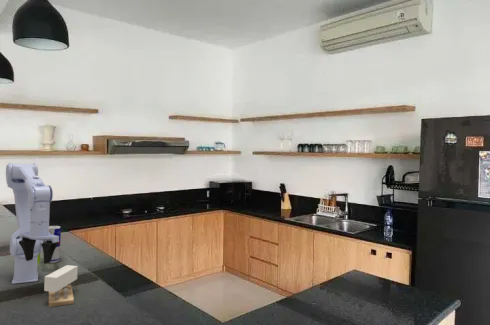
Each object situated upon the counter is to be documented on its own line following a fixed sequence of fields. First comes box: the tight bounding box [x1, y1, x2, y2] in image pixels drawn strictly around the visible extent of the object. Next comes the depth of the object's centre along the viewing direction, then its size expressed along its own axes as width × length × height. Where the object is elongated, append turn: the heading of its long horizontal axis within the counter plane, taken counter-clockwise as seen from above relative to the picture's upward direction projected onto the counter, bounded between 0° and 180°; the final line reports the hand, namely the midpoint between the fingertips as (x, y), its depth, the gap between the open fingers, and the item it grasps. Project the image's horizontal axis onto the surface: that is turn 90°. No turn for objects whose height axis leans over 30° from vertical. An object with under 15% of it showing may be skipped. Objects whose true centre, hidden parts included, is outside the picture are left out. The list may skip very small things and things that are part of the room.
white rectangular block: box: [43, 264, 79, 292], centre depth 120 cm, size 12×4×4 cm, turn 175°
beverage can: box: [49, 225, 62, 264], centre depth 156 cm, size 6×6×15 cm
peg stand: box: [48, 284, 75, 308], centre depth 120 cm, size 14×7×4 cm, turn 29°
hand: (38, 261), depth 123 cm, fingers open, 7 cm apart
